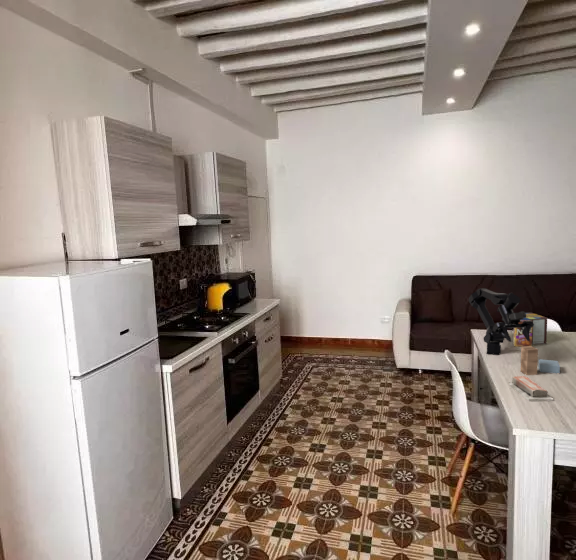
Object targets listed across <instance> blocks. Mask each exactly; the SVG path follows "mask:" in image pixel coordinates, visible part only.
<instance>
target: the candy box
mask: <svg viewBox="0 0 576 560" xmlns="http://www.w3.org/2000/svg"><path fill="white" fill-rule="evenodd" d="M524 321H531V320H520V322H519V324H522V323H523V322H524ZM529 338H530V340H529V341H527V339H526V338H525V336H524V335H523V333H522V330H521V328H513V341H512V345H513V346H514V347H520V348H521V347H527V346H532V345H533V344H532V328H531V329H530V330H529ZM532 347H533V346H532Z"/></svg>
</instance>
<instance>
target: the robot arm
mask: <svg viewBox="0 0 576 560" xmlns="http://www.w3.org/2000/svg"><path fill="white" fill-rule="evenodd" d="M487 299H488V300H489V301H491V303H493V304H494V305H496V306H497V305H498V308H497V312H498V313H500V315H501V317H502V318H501V321H500V322H499V321H498V322H496V323H495V321H494V319H493V317H492V316H491V313H490V312H489V311H488V310H489V309H488V308H487V307H486V303H487ZM468 302H469V304H470V306H471V307H472V308H474V309H475V310H477V312H478V314H479V316H480V319H481V320H482V322H483V324H484V326H485V328H486V331H485V335H484V336H483V342H484V343H486V352H485V353H486V355H487V354H488V355H495V356H499V355H500V354H501V353H502V345H501V344H503V343H504V340H505V339H506V341H508V342H510V343H511V342H512V338H511V335H510V334H509V331H508V329H514V328H521V330H522V333H523V335H524V336H525V338H526V339H527V341H529V340H530V338H529V330H530V329H531V328H532V327H533V326H534V323H533V321H524V322H523V323H522V324H519V322H520V320H521V319H524V318H525V317H526V313H527V312H525V311H523V310H521V311H519V312H514V309H516V307H517V306H518V305H519V303H520V302H521V298H520V297H519V296H517V295H516V294H514V292H508V293H500V292H495V291H492V290H490V289H488V288H477V290H475V292H473V293H471V294H470V296H469V297H468Z"/></svg>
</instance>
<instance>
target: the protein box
mask: <svg viewBox="0 0 576 560" xmlns="http://www.w3.org/2000/svg"><path fill="white" fill-rule="evenodd" d="M525 313H526V317H525V318H524V319H521V320H531V321H533V323H534V326H533V327H532V345H541V344H545V345H546V344H547V337H548V335H547V334H548V317H545V316H542V315H539V314H537V313H533V312H525Z"/></svg>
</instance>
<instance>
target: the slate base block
mask: <svg viewBox="0 0 576 560" xmlns="http://www.w3.org/2000/svg"><path fill="white" fill-rule="evenodd" d="M537 368H538V369H539V372H540V373H549V374H550V373H551V374H557V373H559V374H560V373H561V372H560V368H561V366H560V363H559V361H558V360H552V359H551V360H550V359H541V358H540V359H539V358H538V365H537Z"/></svg>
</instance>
